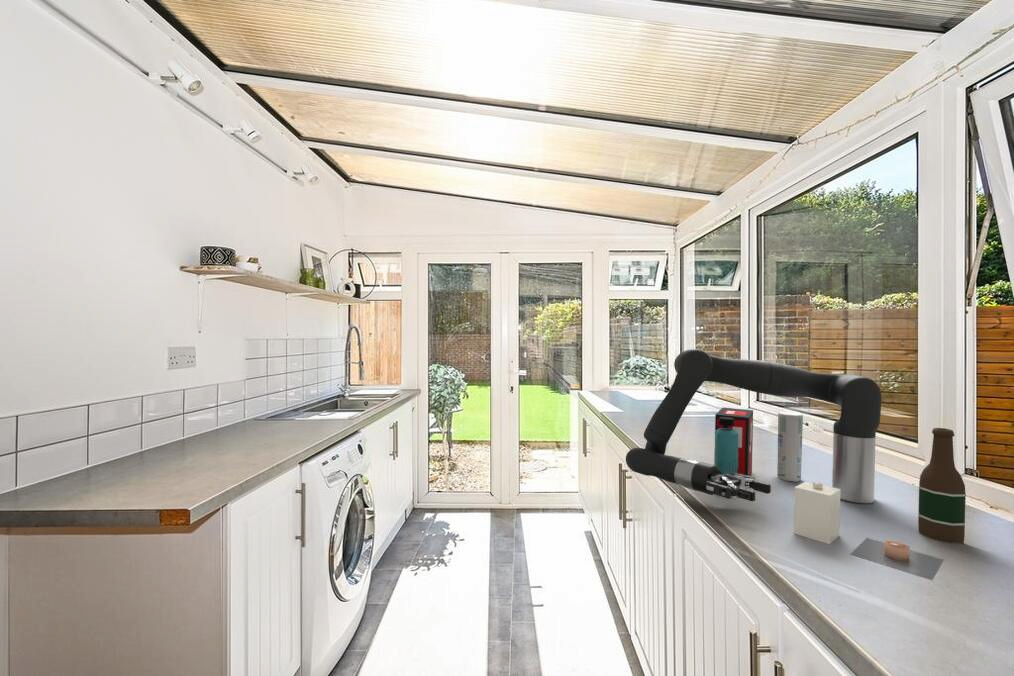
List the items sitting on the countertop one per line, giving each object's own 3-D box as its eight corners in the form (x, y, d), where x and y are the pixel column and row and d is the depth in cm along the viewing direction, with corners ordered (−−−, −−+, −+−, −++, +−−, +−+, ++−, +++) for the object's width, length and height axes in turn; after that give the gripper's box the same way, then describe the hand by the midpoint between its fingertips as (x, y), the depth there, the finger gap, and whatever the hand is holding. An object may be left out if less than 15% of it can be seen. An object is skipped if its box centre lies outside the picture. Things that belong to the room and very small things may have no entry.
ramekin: (889, 550, 93) (889, 538, 93) (913, 559, 89) (913, 546, 89) (880, 554, 91) (880, 542, 91) (903, 563, 88) (904, 550, 88)
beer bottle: (956, 550, 95) (959, 434, 95) (909, 535, 102) (912, 427, 102) (972, 542, 99) (975, 431, 99) (925, 528, 106) (928, 424, 105)
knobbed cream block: (804, 526, 105) (805, 476, 105) (839, 536, 100) (840, 484, 99) (793, 533, 100) (794, 482, 100) (829, 544, 95) (830, 490, 95)
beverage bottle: (741, 491, 130) (742, 420, 129) (715, 489, 131) (717, 418, 131) (734, 483, 136) (736, 416, 136) (710, 482, 137) (712, 414, 137)
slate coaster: (866, 541, 99) (866, 537, 99) (943, 563, 89) (943, 559, 89) (849, 558, 91) (850, 554, 91) (931, 584, 82) (932, 579, 82)
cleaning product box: (721, 467, 152) (722, 407, 152) (751, 472, 148) (753, 410, 148) (714, 480, 138) (715, 414, 138) (747, 486, 134) (748, 417, 134)
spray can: (803, 482, 138) (805, 416, 138) (778, 479, 140) (780, 414, 140) (798, 476, 144) (800, 412, 144) (774, 474, 146) (776, 411, 146)
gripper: (683, 466, 116) (749, 483, 104) (710, 457, 125) (775, 471, 113) (682, 495, 116) (749, 516, 104) (710, 484, 126) (774, 502, 113)
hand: (762, 493), depth 108 cm, fingers open, 8 cm apart
